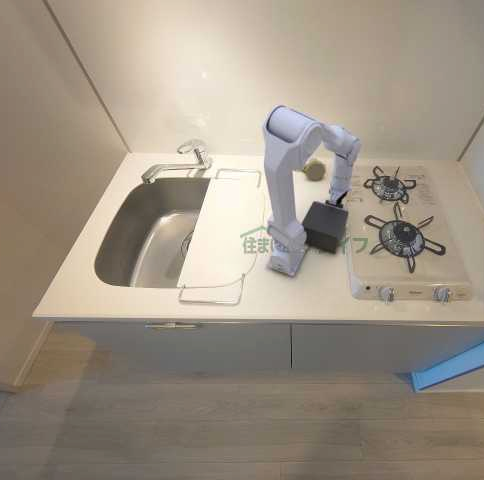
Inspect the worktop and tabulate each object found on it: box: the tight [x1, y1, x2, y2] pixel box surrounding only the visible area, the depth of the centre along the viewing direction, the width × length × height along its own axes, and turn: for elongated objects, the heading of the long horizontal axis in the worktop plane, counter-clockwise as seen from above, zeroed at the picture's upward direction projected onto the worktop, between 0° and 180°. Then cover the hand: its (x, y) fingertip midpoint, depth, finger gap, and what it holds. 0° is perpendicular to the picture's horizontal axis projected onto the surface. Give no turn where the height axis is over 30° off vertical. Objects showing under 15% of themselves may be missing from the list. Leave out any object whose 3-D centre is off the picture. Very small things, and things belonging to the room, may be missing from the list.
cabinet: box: [301, 200, 350, 255], centre depth 82 cm, size 11×12×9 cm
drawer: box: [315, 199, 349, 212], centre depth 84 cm, size 13×10×7 cm
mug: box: [301, 157, 326, 181], centre depth 100 cm, size 8×10×10 cm
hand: (337, 204), depth 89 cm, fingers closed
